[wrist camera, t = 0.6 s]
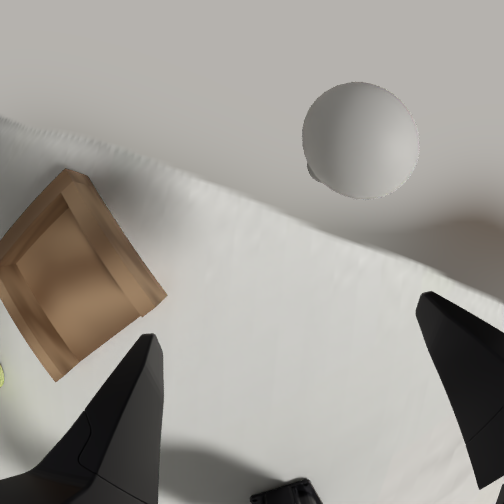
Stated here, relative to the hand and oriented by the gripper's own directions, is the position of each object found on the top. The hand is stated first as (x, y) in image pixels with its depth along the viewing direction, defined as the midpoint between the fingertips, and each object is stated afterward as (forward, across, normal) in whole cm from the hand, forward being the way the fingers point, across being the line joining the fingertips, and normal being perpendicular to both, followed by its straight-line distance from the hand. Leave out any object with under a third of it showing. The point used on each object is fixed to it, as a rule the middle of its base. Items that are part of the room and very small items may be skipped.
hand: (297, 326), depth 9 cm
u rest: (+12, +15, +5) cm, 20 cm away
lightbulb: (+15, -5, 0) cm, 16 cm away
